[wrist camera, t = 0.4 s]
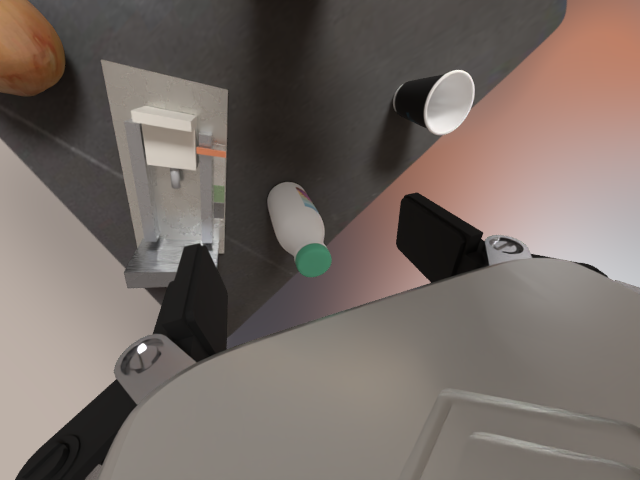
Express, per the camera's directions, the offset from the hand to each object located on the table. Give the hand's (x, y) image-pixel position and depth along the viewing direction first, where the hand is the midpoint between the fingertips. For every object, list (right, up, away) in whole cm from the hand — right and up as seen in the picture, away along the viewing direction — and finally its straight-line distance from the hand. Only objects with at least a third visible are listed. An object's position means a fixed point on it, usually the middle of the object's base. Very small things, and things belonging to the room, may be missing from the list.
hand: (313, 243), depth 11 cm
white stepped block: (-19, +13, +24) cm, 34 cm away
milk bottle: (-6, +8, +35) cm, 36 cm away
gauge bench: (-22, +10, +27) cm, 37 cm away
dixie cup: (+15, +25, +31) cm, 43 cm away
